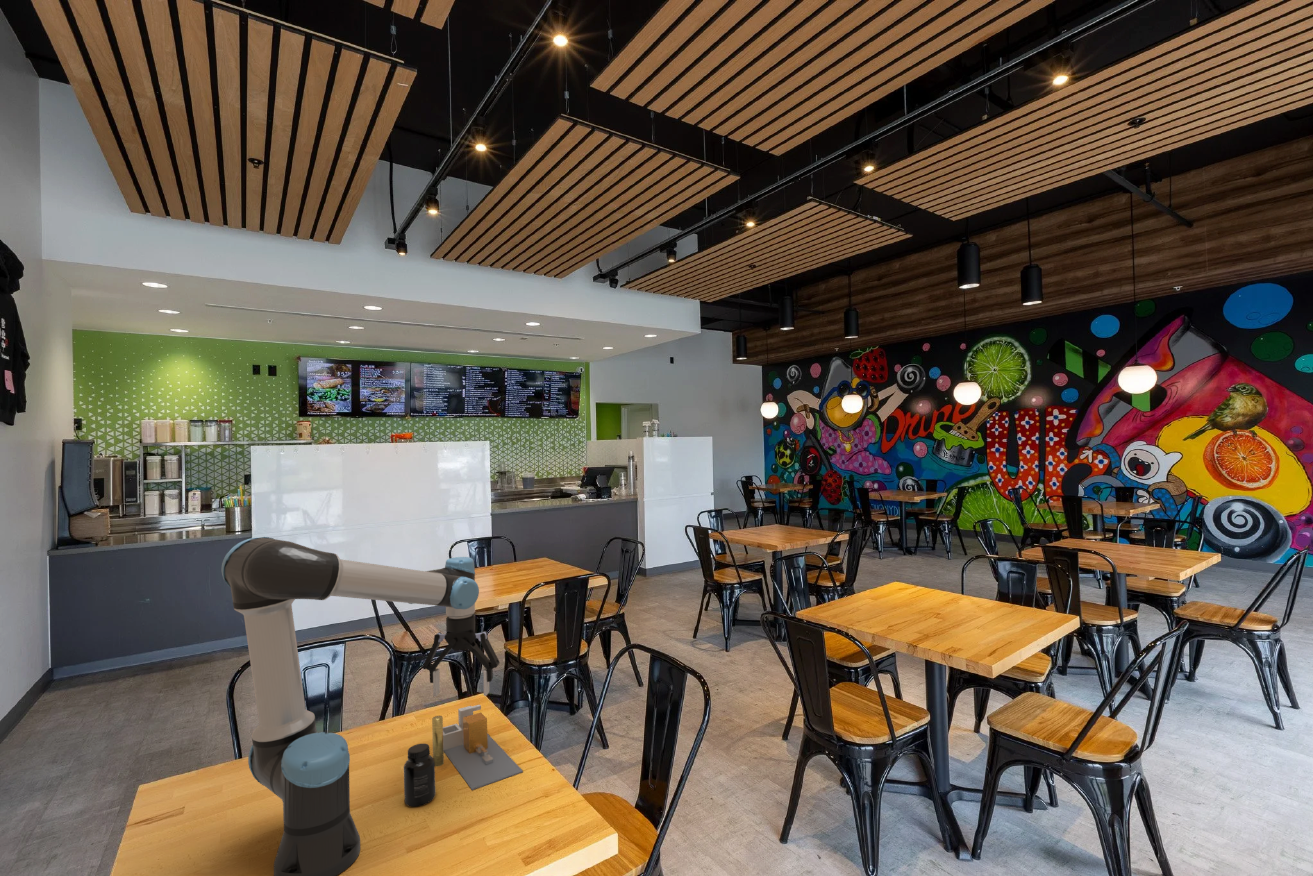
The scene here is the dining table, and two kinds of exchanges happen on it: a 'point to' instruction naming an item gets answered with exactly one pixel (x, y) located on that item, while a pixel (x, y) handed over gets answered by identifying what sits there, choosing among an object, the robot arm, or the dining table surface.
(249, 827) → the dining table surface
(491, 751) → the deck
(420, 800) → the supplement bottle
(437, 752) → the pin
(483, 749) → the orange block with fittings
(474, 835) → the dining table surface
